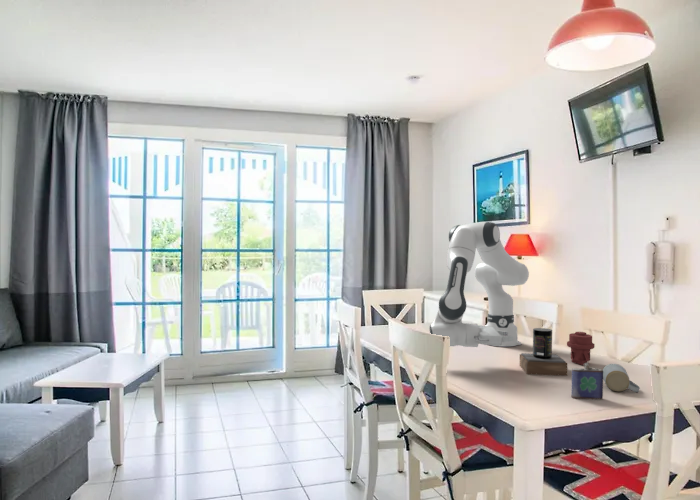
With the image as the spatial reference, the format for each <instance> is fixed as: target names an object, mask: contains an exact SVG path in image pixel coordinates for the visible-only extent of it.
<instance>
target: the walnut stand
mask: <svg viewBox="0 0 700 500" xmlns="http://www.w3.org/2000/svg"><path fill="white" fill-rule="evenodd" d="M519 367H520V368H521V370H523V371H524V372H525V373H526V375H536V376H537V375H539V376H542V375H543V376H566V377H568V363H567V361H565V359H563V358H562V357H561V356H559V355H558V354H557V353H556V354H555V353H552V357H551V358H550V359H539V358H535V357H534V356H533V353H531V352H530V353H527V352H525V353H523V352H521V353H520V354H519Z"/></svg>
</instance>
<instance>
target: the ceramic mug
mask: <svg viewBox="0 0 700 500" xmlns="http://www.w3.org/2000/svg"><path fill="white" fill-rule="evenodd" d="M602 370H603V383H604V384H605V385H606V387H607V388H608V389H610V390H611V391H613V392H618V393H620V392H624V391H625V390H627V389H628V390H630V391H632V392H634V393H639V392H640V389H641V387H640V386H638V385H637V383H635V382H633V381H632V380H630V376H629V375H628V373H627V371H626V369H625V368H624V367H623V366H622V365H620V364H617V363H609V364H607V365H605V366H604V367H603V368H602Z"/></svg>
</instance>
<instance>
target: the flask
mask: <svg viewBox="0 0 700 500" xmlns="http://www.w3.org/2000/svg"><path fill="white" fill-rule="evenodd" d="M570 395H571V398H572V399H576V400H577V399H578V400H580V399H582V400H599V401H600V400H603V395H604V380H603V369H601V368H598V367H595V368H593V367H591V366H589V362H588V363H585V364H584V365H583V368H582V367H581V368H577V367H575V368H572V369H571V394H570Z"/></svg>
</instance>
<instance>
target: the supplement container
mask: <svg viewBox="0 0 700 500" xmlns="http://www.w3.org/2000/svg"><path fill="white" fill-rule="evenodd" d="M532 354H533V356H534V357H535V358H539V359H550V358H551V357H552V354H553V330H552V329H551V328H546V327H542V328H541V327H534V328H533V329H532Z"/></svg>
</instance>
